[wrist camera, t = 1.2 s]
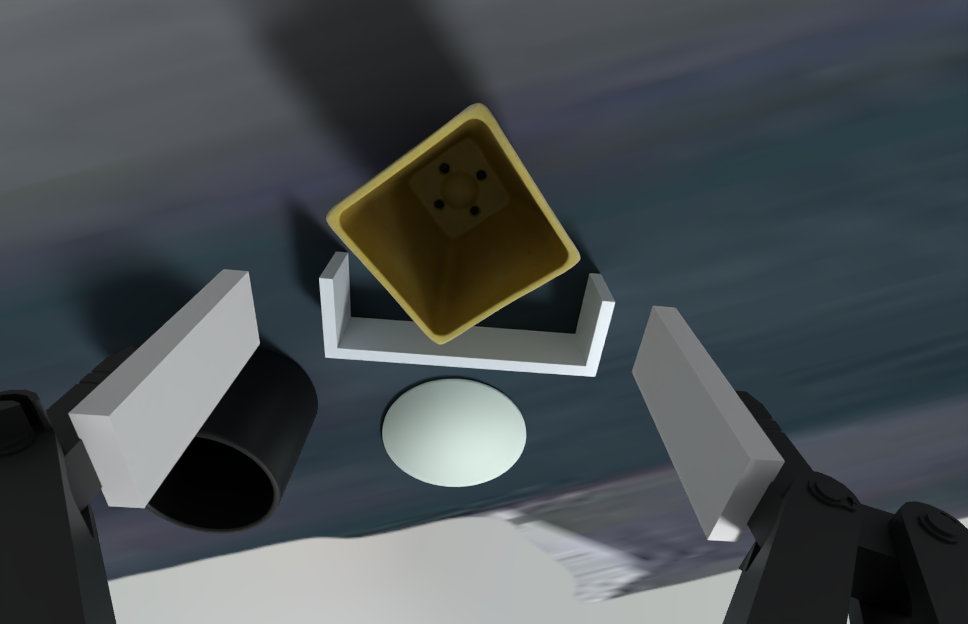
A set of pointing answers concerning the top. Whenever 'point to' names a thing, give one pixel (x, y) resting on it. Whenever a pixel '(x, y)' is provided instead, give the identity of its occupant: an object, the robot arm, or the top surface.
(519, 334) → the bracket
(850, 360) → the top surface
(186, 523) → the mug
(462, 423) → the pad
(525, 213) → the flower pot
